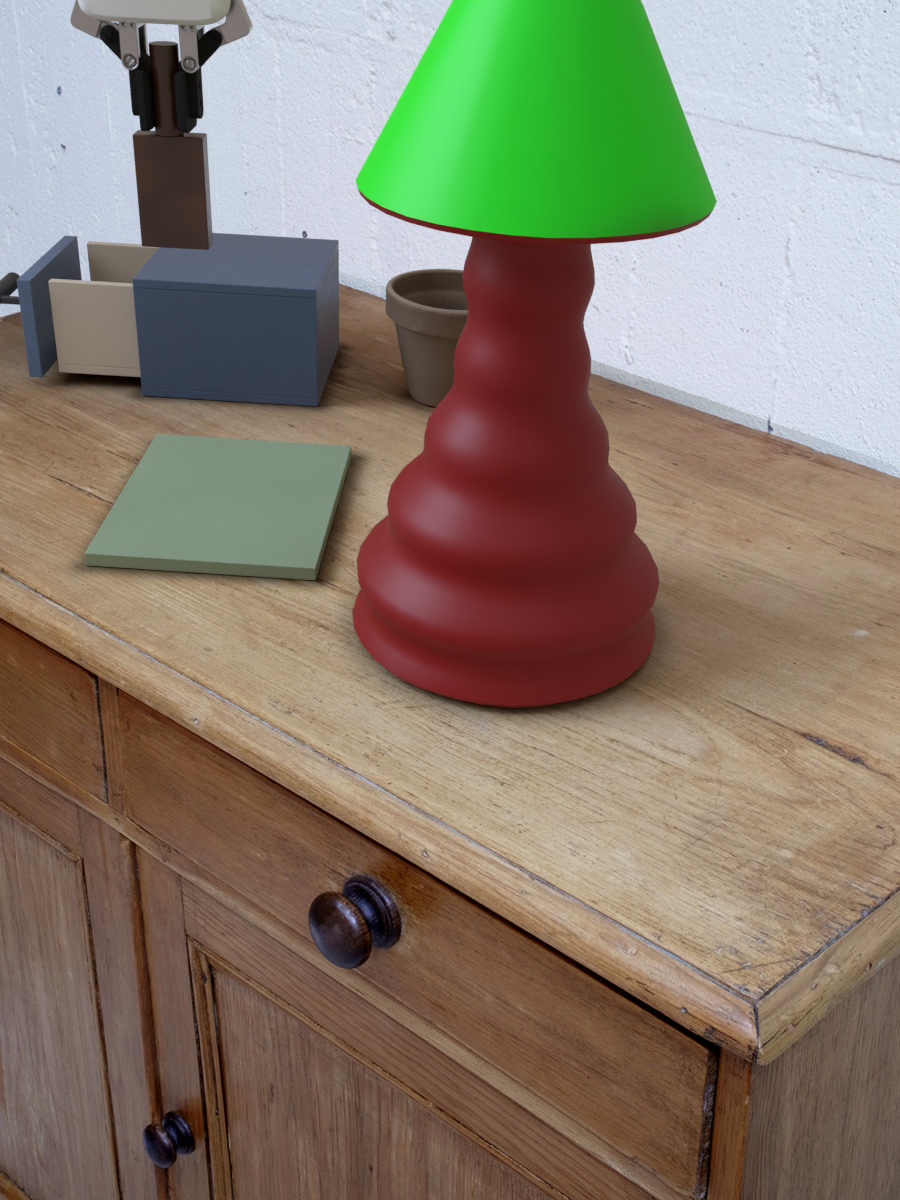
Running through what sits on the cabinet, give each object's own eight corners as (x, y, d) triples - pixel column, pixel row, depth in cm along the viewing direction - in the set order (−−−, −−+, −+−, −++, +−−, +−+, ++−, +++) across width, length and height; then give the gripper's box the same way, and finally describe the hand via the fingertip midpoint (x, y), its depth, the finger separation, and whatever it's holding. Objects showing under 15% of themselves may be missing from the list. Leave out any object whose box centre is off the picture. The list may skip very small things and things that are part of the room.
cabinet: (142, 396, 116) (131, 278, 111) (180, 338, 129) (173, 230, 123) (317, 406, 116) (316, 289, 110) (339, 347, 128) (338, 239, 123)
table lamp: (421, 528, 97) (445, -176, 74) (684, 587, 92) (800, -157, 68) (299, 665, 81) (280, -176, 58) (607, 747, 76) (725, -151, 52)
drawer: (-24, 373, 117) (-39, 276, 112) (26, 322, 128) (14, 232, 123) (191, 386, 116) (184, 289, 111) (222, 334, 127) (217, 244, 123)
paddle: (140, 247, 97) (123, 43, 89) (147, 239, 98) (130, 39, 91) (208, 251, 97) (196, 47, 89) (213, 243, 98) (202, 42, 91)
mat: (85, 565, 91) (84, 553, 90) (157, 444, 108) (156, 433, 107) (315, 580, 90) (315, 568, 90) (351, 456, 107) (351, 445, 107)
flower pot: (536, 398, 119) (545, 290, 114) (450, 432, 112) (455, 319, 107) (444, 362, 126) (448, 259, 121) (357, 392, 119) (358, 284, 113)
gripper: (4, -178, 81) (41, 134, 90) (262, -166, 80) (272, 145, 90) (42, -179, 87) (73, 112, 97) (281, -169, 87) (288, 122, 96)
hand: (169, 126), depth 93 cm, fingers closed on paddle, 2 cm apart
